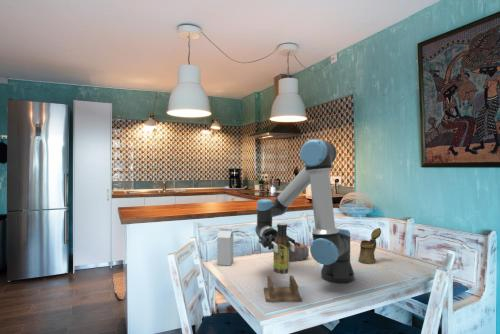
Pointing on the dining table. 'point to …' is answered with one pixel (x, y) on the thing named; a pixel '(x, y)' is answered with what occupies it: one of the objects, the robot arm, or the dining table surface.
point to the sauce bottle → (281, 250)
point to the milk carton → (225, 247)
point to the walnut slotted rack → (282, 292)
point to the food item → (299, 252)
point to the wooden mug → (369, 248)
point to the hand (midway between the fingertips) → (285, 248)
